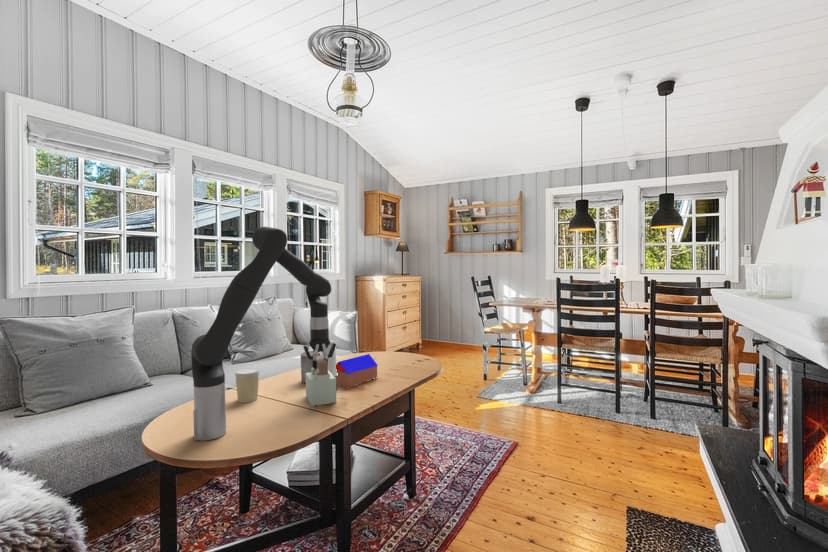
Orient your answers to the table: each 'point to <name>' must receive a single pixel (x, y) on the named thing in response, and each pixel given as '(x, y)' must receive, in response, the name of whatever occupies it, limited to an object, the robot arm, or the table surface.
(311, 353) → the pillar candle
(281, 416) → the table surface
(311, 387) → the stand
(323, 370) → the long beige cuboid
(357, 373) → the house
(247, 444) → the table surface
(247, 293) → the robot arm
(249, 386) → the coffee cup
